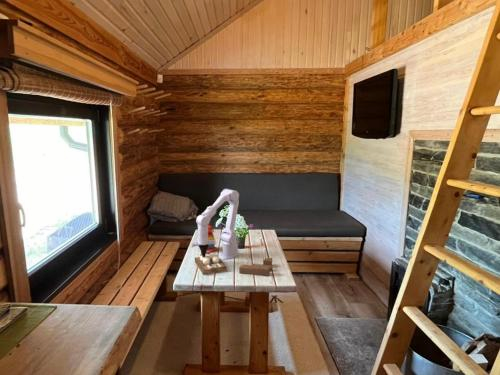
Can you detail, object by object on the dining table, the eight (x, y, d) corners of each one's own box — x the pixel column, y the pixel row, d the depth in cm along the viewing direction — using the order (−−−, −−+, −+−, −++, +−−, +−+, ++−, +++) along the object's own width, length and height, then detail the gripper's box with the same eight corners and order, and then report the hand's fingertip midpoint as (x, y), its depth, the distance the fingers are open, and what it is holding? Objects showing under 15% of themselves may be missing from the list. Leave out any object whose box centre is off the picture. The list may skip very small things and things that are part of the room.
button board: (216, 258, 207) (216, 253, 206) (226, 270, 189) (226, 265, 188) (194, 262, 201) (194, 256, 201) (203, 275, 183) (203, 269, 182)
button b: (208, 262, 194) (208, 257, 193) (210, 265, 190) (210, 259, 190) (202, 263, 192) (202, 258, 192) (203, 266, 189) (203, 260, 188)
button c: (215, 257, 202) (215, 252, 201) (217, 259, 198) (217, 254, 198) (209, 258, 200) (208, 253, 200) (210, 260, 197) (210, 255, 196)
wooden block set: (270, 267, 181) (238, 265, 184) (270, 277, 182) (239, 274, 185) (274, 256, 197) (245, 254, 201) (274, 265, 198) (245, 263, 201)
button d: (218, 261, 196) (218, 255, 196) (220, 263, 193) (220, 257, 192) (211, 262, 195) (211, 256, 194) (213, 264, 191) (213, 258, 191)
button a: (205, 260, 200) (205, 254, 199) (207, 262, 196) (207, 257, 195) (199, 261, 198) (199, 255, 197) (201, 263, 194) (201, 258, 194)
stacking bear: (209, 254, 214) (208, 228, 211) (197, 251, 219) (197, 226, 216) (219, 249, 223) (219, 224, 220) (207, 247, 228) (207, 222, 225)
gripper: (212, 231, 201) (213, 252, 203) (189, 234, 195) (190, 256, 197) (216, 235, 194) (216, 256, 196) (192, 238, 189) (192, 260, 191)
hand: (203, 256), depth 196 cm, fingers closed, pressing on button a
